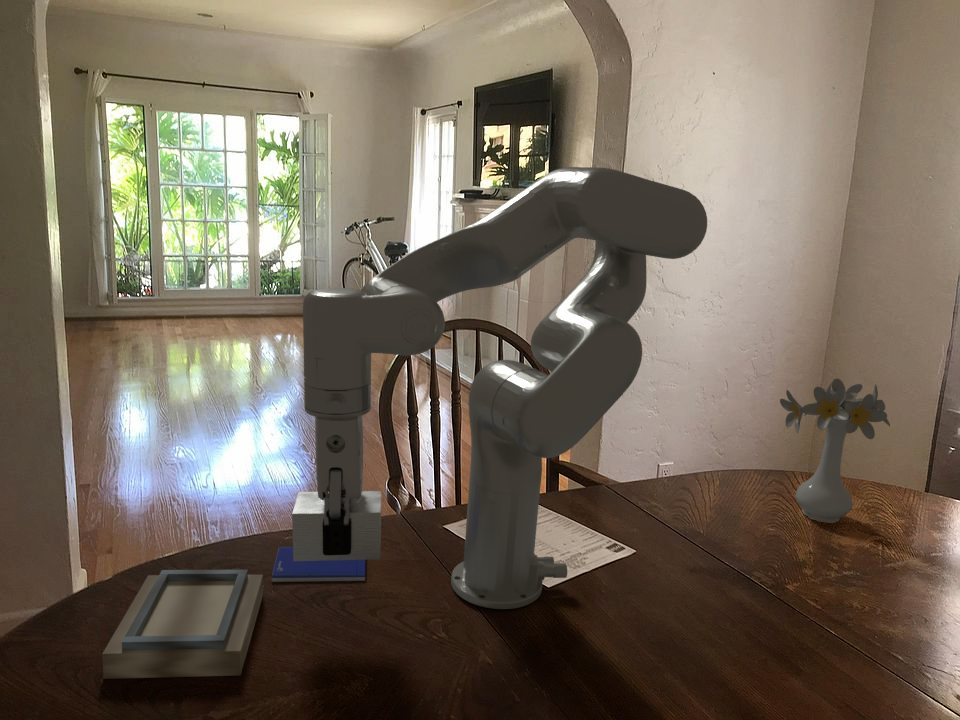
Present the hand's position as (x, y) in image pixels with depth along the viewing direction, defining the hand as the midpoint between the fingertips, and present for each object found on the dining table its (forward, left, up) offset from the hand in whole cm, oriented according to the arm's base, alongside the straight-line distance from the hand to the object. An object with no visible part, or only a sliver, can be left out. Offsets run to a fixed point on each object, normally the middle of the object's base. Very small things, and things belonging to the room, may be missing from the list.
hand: (338, 538), depth 89 cm
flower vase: (-83, -30, -11) cm, 89 cm away
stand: (+17, +2, -11) cm, 20 cm away
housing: (0, 0, -1) cm, 1 cm away
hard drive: (+3, -13, -12) cm, 18 cm away
